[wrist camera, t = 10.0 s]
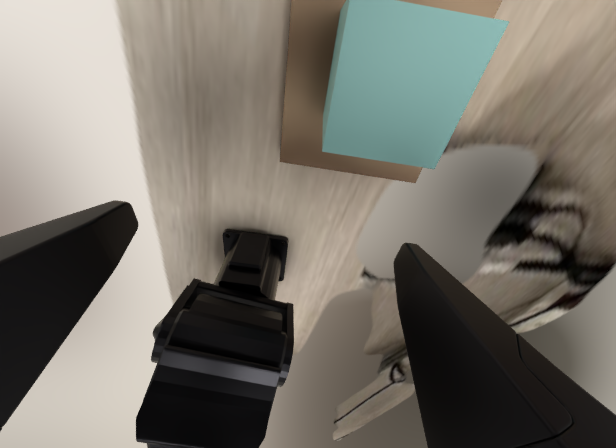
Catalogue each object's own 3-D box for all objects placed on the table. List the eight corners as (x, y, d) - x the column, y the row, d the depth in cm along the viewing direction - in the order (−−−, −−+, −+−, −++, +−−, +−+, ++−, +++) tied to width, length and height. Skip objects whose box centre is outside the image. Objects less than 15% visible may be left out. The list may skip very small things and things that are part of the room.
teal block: (400, 128, 15) (434, 169, 10) (322, 115, 15) (322, 151, 10) (437, 27, 12) (509, 21, 7) (340, 9, 12) (351, -9, 7)
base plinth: (407, 171, 19) (415, 183, 18) (283, 151, 19) (279, 161, 17) (506, -53, 12) (534, -67, 10) (303, -95, 11) (300, -116, 10)
